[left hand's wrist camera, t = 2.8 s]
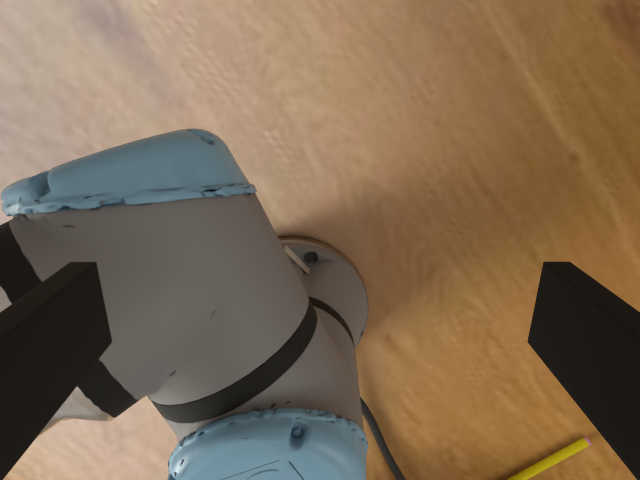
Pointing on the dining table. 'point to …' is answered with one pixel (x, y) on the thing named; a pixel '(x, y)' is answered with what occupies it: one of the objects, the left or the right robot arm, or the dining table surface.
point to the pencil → (552, 459)
